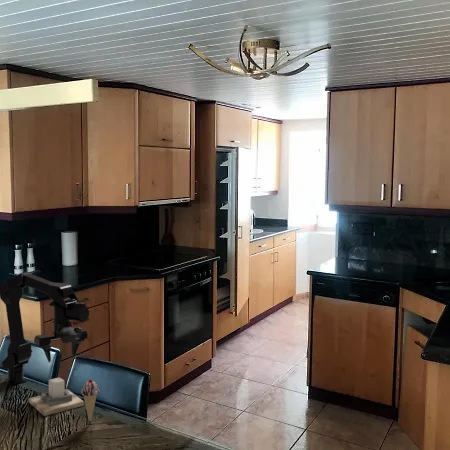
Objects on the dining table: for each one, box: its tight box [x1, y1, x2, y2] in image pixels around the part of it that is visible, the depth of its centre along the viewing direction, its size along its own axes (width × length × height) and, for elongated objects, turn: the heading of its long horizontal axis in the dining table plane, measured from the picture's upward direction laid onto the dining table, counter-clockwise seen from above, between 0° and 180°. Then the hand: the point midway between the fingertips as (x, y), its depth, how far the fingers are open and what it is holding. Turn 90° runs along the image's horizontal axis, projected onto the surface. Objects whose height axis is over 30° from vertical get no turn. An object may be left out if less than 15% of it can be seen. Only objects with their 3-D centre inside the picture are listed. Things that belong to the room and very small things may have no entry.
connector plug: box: [48, 377, 65, 399], centre depth 177 cm, size 4×4×7 cm
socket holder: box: [28, 388, 85, 417], centre depth 177 cm, size 14×14×4 cm
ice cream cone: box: [80, 379, 100, 425], centre depth 162 cm, size 6×6×15 cm
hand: (61, 359), depth 188 cm, fingers open, 9 cm apart
